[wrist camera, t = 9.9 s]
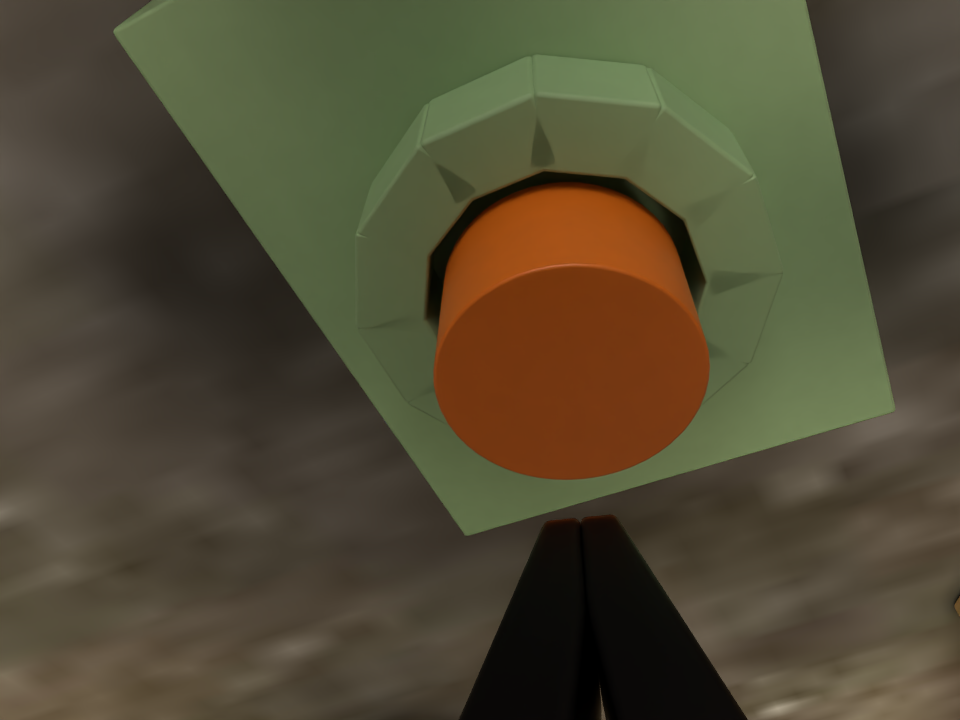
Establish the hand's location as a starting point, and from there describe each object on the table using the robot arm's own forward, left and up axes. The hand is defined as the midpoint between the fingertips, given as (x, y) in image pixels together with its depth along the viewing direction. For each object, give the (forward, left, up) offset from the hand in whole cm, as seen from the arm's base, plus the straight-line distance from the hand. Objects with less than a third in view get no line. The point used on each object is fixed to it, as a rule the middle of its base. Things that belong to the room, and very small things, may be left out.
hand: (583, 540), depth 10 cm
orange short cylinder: (0, 0, -5) cm, 5 cm away
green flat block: (0, 0, -9) cm, 9 cm away
